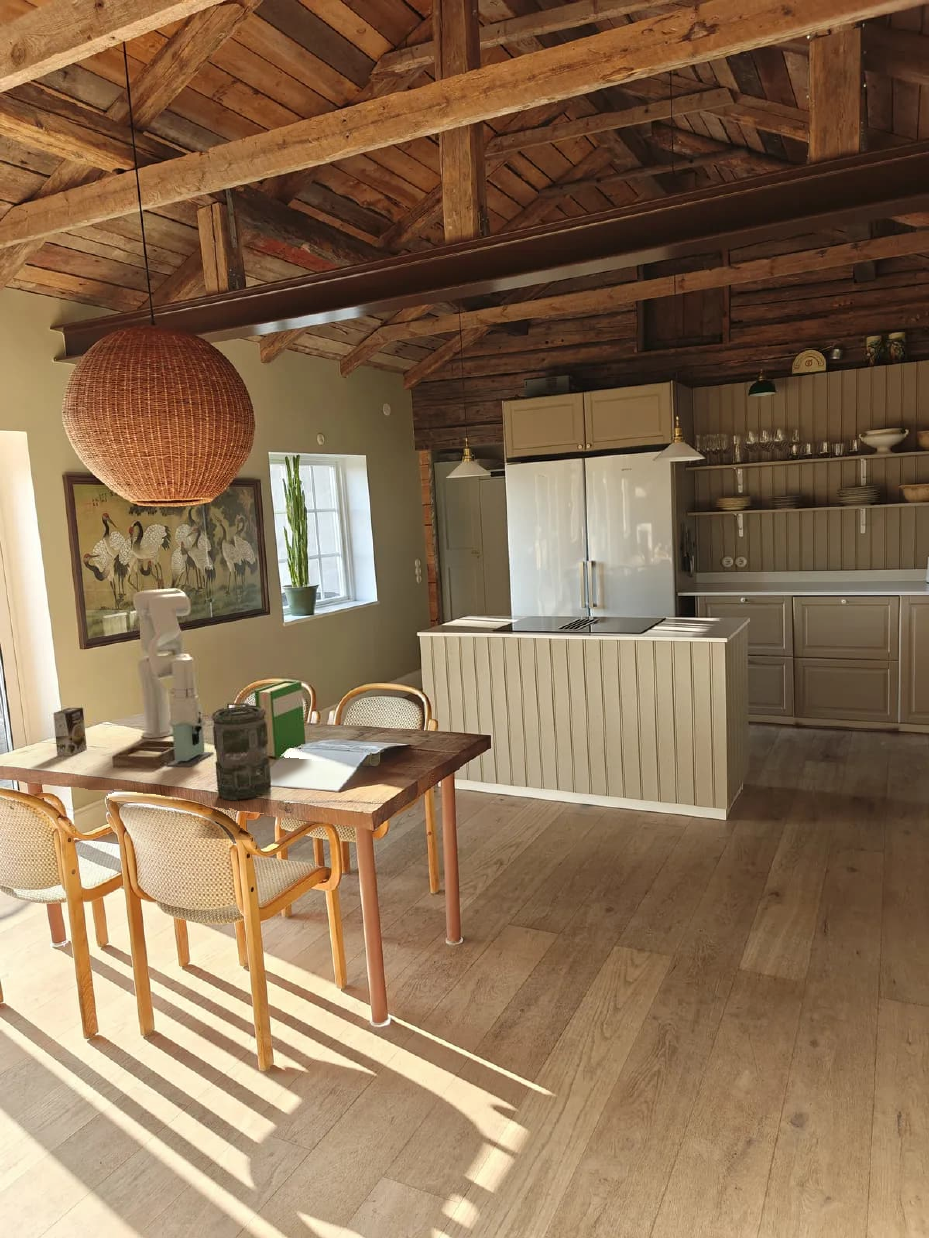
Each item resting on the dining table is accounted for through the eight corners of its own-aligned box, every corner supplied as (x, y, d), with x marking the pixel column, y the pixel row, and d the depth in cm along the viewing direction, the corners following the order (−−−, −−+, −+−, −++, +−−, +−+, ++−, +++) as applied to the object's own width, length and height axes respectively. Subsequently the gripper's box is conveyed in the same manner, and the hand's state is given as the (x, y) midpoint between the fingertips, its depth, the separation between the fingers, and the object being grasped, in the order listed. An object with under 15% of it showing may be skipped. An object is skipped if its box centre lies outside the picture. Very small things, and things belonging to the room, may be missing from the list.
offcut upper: (140, 755, 307) (140, 750, 307) (163, 757, 303) (162, 752, 303) (128, 760, 302) (127, 755, 302) (150, 762, 298) (150, 757, 298)
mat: (191, 753, 312) (190, 751, 312) (213, 753, 310) (213, 752, 310) (166, 766, 297) (166, 764, 297) (190, 767, 295) (190, 765, 295)
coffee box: (72, 756, 316) (67, 712, 314) (56, 755, 317) (52, 712, 315) (87, 749, 325) (83, 707, 323) (72, 748, 326) (68, 706, 324)
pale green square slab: (175, 760, 298) (172, 726, 297) (193, 750, 310) (190, 718, 308) (186, 760, 297) (184, 726, 296) (204, 751, 309) (202, 718, 307)
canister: (279, 785, 270) (273, 697, 267) (257, 802, 255) (250, 709, 252) (233, 784, 274) (226, 697, 270) (208, 800, 258) (201, 708, 255)
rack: (146, 751, 318) (145, 740, 318) (188, 752, 314) (187, 741, 314) (113, 767, 299) (111, 756, 298) (157, 768, 295) (156, 757, 294)
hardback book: (277, 759, 300) (272, 691, 297) (259, 757, 303) (254, 690, 300) (305, 745, 316) (301, 681, 313) (288, 744, 319) (284, 680, 316)
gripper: (157, 695, 299) (161, 746, 301) (201, 695, 295) (205, 747, 297) (169, 690, 306) (173, 740, 308) (212, 690, 302) (216, 741, 305)
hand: (189, 743), depth 303 cm, fingers closed on pale green square slab, 4 cm apart
